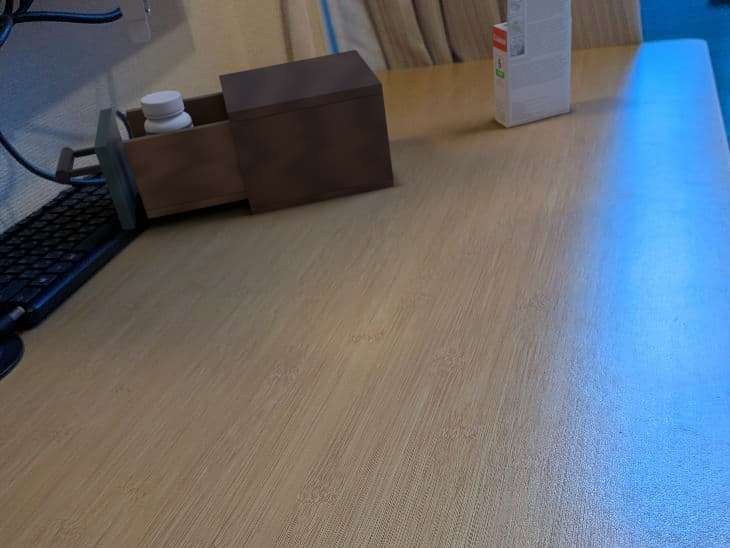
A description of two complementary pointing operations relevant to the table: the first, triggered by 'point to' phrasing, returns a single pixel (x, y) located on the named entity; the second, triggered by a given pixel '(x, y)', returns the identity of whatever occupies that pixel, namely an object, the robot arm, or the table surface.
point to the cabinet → (308, 130)
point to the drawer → (164, 162)
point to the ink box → (532, 61)
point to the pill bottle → (164, 112)
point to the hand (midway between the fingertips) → (142, 30)
